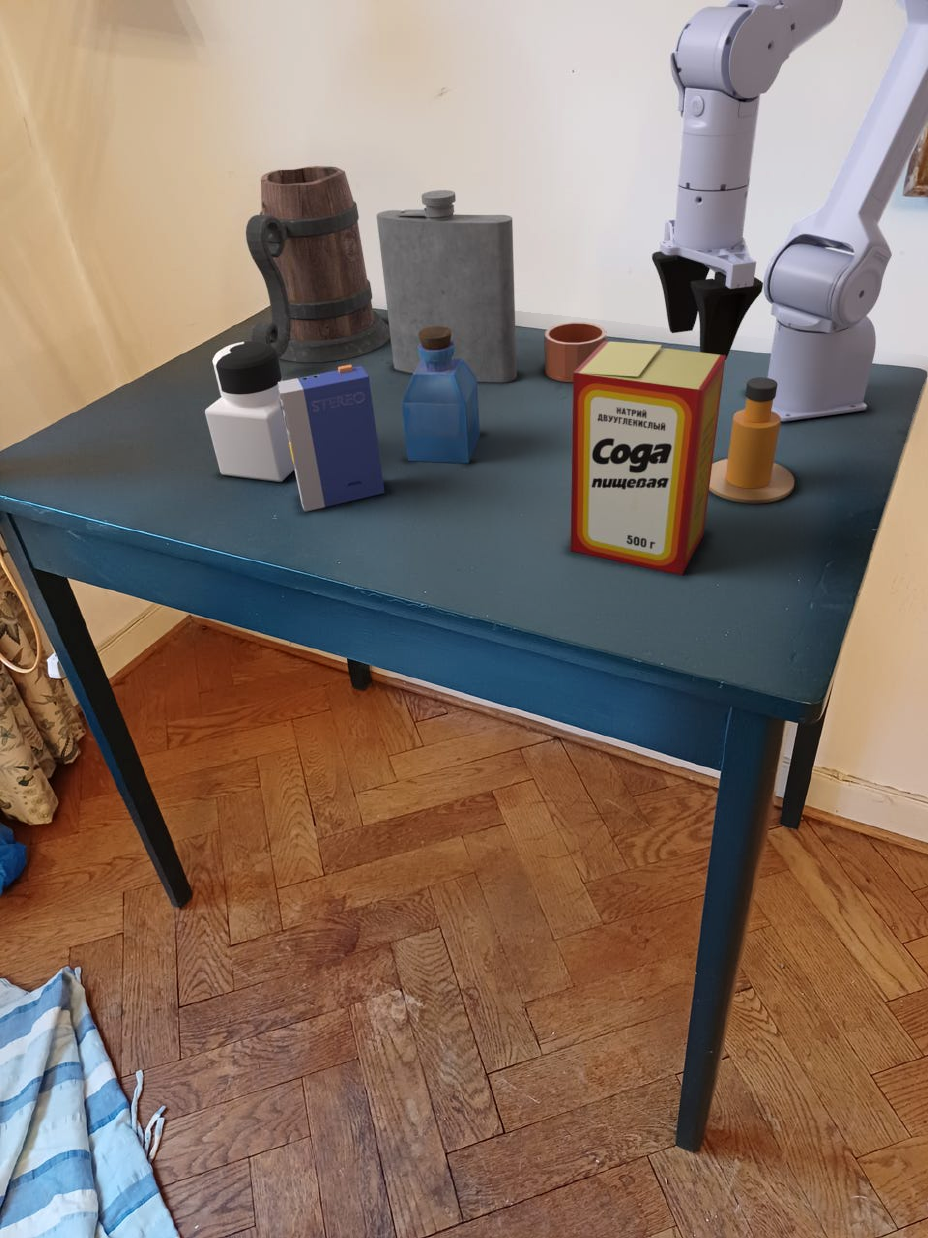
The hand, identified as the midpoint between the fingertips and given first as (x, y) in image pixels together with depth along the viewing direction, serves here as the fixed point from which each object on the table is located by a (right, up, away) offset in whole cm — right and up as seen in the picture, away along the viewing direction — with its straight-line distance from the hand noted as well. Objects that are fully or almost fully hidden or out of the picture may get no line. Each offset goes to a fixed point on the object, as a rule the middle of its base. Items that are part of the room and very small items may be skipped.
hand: (696, 344), depth 81 cm
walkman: (-33, -14, +3) cm, 36 cm away
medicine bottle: (-41, -9, +9) cm, 43 cm away
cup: (-8, +4, +23) cm, 25 cm away
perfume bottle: (-23, -8, +10) cm, 26 cm away
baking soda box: (-7, -19, -6) cm, 21 cm away
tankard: (-41, +10, +35) cm, 54 cm away
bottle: (+5, -12, 0) cm, 13 cm away
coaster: (+5, -12, +1) cm, 13 cm away
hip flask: (-23, +4, +25) cm, 34 cm away
